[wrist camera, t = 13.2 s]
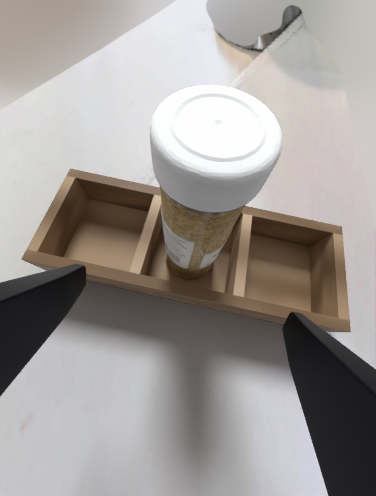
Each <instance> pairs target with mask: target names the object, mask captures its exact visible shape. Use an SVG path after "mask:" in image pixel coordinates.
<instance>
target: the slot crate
mask: <svg viewBox="0 0 376 496" xmlns="http://www.w3.org/2000/svg"><path fill="white" fill-rule="evenodd" d="M22 260H24V261H26V262H28V263H31V264H33V265H35V266H38V267H40V268H42V269H44V270H47V271H49V270H53V269H57V268H61V267H65V266H69V265H73V264H79V265H83V266H85V267H86V281H91V282H95V283H100V284H104V285H109V286H113V287H118V288H122V289H127V290H131V291H136V292H140V293H145V294H149V295H154V296H158V297H163V298H167V299H172V300H176V301H181V302H185V303H190V304H194V305H199V306H203V307H208V308H212V309H217V310H221V311H226V312H230V313H235V314H239V315H244V316H248V317H253V318H257V319H262V320H266V321H271V322H275V323H280V324H284V323H285V321H286V319H287V317H288V315H289V313H290V312H297V313H301V314H303V315H304V316H306V317H307V318H308V319H310V320H311V321H312V322H314V323H315V324H316V325H317V326H319V327H320V328H321V329H323V330H324V331H326V332H351V331H350V319H349V307H348V295H347V283H346V271H345V259H344V247H343V234H342V227H341V226H336V225H331V224H327V223H322V222H317V221H313V220H308V219H303V218H299V217H294V216H289V215H285V214H280V213H275V212H271V211H266V210H261V209H257V208H252V207H247V206H245V207H244V209H243V210H242V212H241V214H240V216H239V217H238V219H237V221H236V222H235V224H234V226H233V229H232V231H231V233H230V235H229V237H228V238H227V240H226V242H225V244H224V245H223V247H222V249H221V251H220V252H219V254H218V256H217V257H216V259H215V260H214V263H213V265H212V267H211V269H210V270H209V272H208V273H206V274H205V275H203V276H201V277H200V278H197V279H185V278H181V277H180V276H178V275H176V274H175V273H173V272H172V270H171V269H170V268H169V266H168V263H167V261H166V247H165V240H164V232H163V223H162V215H161V192H160V188H159V187H154V186H149V185H144V184H140V183H135V182H130V181H126V180H121V179H116V178H112V177H107V176H102V175H98V174H93V173H88V172H84V171H79V170H74V169H70V170H69V172H68V174H67V176H66V178H65V179H64V181H63V183H62V185H61V187H60V189H59V191H58V192H57V194H56V196H55V198H54V200H53V202H52V203H51V205H50V207H49V209H48V211H47V213H46V215H45V216H44V218H43V220H42V222H41V224H40V226H39V228H38V229H37V231H36V233H35V235H34V237H33V239H32V240H31V242H30V244H29V246H28V248H27V250H26V252H25V253H24V255H23V257H22Z"/></svg>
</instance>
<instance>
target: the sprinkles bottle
mask: <svg viewBox="0 0 376 496" xmlns="http://www.w3.org/2000/svg"><path fill="white" fill-rule="evenodd" d="M150 143H151V154H152V162H153V169H154V174H155V177H156V179H157V181H158V183H159V185H160V192H161V215H162V223H163V232H164V240H165V247H166V261H167V263H168V266H169V268H170V269H171V270H172V272H173V273H175V274H176V275H178V276H180V277H181V278H185V279H197V278H200V277H201V276H203V275H205V274H206V273H208V272H209V270H210V269H211V267H212V265H213V263H214V260H215V259H216V257H217V256H218V254H219V252H220V251H221V249H222V247H223V245H224V244H225V242H226V240H227V238H228V237H229V235H230V233H231V231H232V229H233V226H234V224H235V222H236V221H237V219H238V217H239V216H240V214H241V212H242V210H243V209H244V207H245V205H246V204H247V203H248V202H250V201H251V200H252V199H253V198H254V197H255V196H256V195H257V194H258V193H259V191H260V190H261V188H262V187H263V185H264V183H265V182H266V180H267V178H268V177H269V175H270V173H271V172H272V170H273V168H274V166H275V164H276V163H277V161H278V159H279V156H280V153H281V150H282V133H281V128H280V126H279V124H278V122H277V120H276V118H275V116H274V115H273V114H272V112H271V111H270V110H269V109H268V108H267V107H266V106H265V105H264V104H263V103H261V102H260V101H259V100H257V99H256V98H254V97H253V96H251V95H249V94H247V93H245V92H242V91H240V90H237V89H234V88H230V87H226V86H218V85H199V86H193V87H188V88H185V89H182V90H180V91H177V92H175V93H174V94H172V95H170V96H169V97H167V98H166V99H165V100H164V101H163V102H162V103H161V104H160V105H159V106H158V108H157V109H156V111H155V113H154V115H153V117H152V120H151V124H150Z"/></svg>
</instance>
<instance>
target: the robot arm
mask: <svg viewBox="0 0 376 496" xmlns="http://www.w3.org/2000/svg"><path fill="white" fill-rule="evenodd" d="M85 285H86V267H85V266H83V265H79V264H73V265H69V266H65V267H61V268H57V269H53V270H49V271H45V272H41V273H37V274H33V275H29V276H25V277H21V278H17V279H13V280H9V281H5V282H1V283H0V396H1V395H2V394H3V392H4V391H5V390H6V389H7V387H8V386H9V385H10V384H11V383H12V381H13V380H14V379H15V378H16V376H17V375H18V374H19V373H20V372H21V370H22V369H23V368H24V367H25V365H26V364H27V363H28V362H29V361H30V359H31V358H32V357H33V356H34V354H35V353H36V352H37V351H38V350H39V348H40V347H41V346H42V345H43V343H44V342H45V341H46V340H47V339H48V337H49V336H50V335H51V334H52V332H53V331H54V330H55V329H56V327H57V326H58V325H59V324H60V323H61V321H62V320H63V319H64V318H65V316H66V315H67V313H68V312H69V311H70V309H71V307H72V306H73V304H74V303H75V301H76V300H77V298H78V297H79V295H80V294H81V292H82V291H83V289H84V288H85ZM283 336H284V341H285V346H286V351H287V356H288V361H289V366H290V369H291V373H292V376H293V380H294V383H295V386H296V390H297V393H298V396H299V400H300V403H301V406H302V409H303V413H304V416H305V419H306V423H307V426H308V429H309V433H310V436H311V439H312V443H313V446H314V449H315V453H316V456H317V459H318V462H319V466H320V469H321V472H322V476H323V479H324V482H325V486H326V489H327V492H328V496H376V369H374V368H373V367H372V366H370V365H369V364H368V363H366V362H365V361H364V360H362V359H361V358H360V357H358V356H357V355H356V354H355V353H353V352H352V351H351V350H349V349H348V348H347V347H345V346H344V345H343V344H341V343H340V342H339V341H337V340H336V339H335V338H333V337H332V336H331V335H329V334H328V333H327V332H325V331H324V330H323V329H321V328H320V327H319V326H317V325H316V324H315V323H314V322H312V321H311V320H310V319H308V318H307V317H306V316H304V315H303V314H301V313H297V312H290V313H289V315H288V317H287V319H286V321H285V323H284V325H283Z"/></svg>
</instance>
